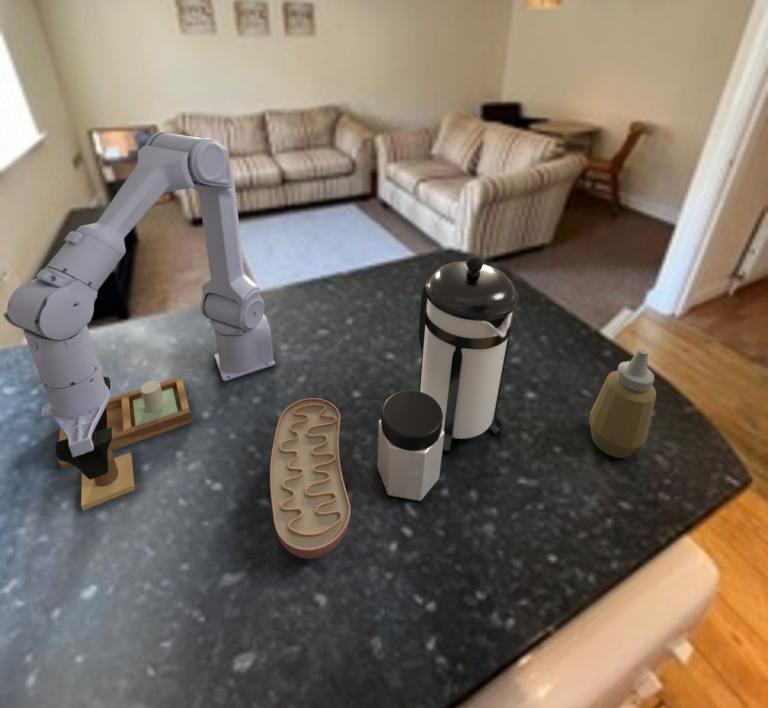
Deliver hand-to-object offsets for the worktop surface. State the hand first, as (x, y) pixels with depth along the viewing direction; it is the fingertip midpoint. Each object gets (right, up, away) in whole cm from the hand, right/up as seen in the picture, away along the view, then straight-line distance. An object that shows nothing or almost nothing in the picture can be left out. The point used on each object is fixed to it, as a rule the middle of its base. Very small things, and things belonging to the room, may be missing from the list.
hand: (98, 451), depth 59 cm
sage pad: (+1, 0, +13) cm, 13 cm away
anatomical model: (+28, -6, +3) cm, 28 cm away
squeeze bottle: (+74, -4, +11) cm, 75 cm away
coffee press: (+49, -1, +15) cm, 51 cm away
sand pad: (0, -5, +2) cm, 6 cm away
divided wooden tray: (-3, -1, +12) cm, 12 cm away
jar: (+41, -6, +5) cm, 42 cm away
